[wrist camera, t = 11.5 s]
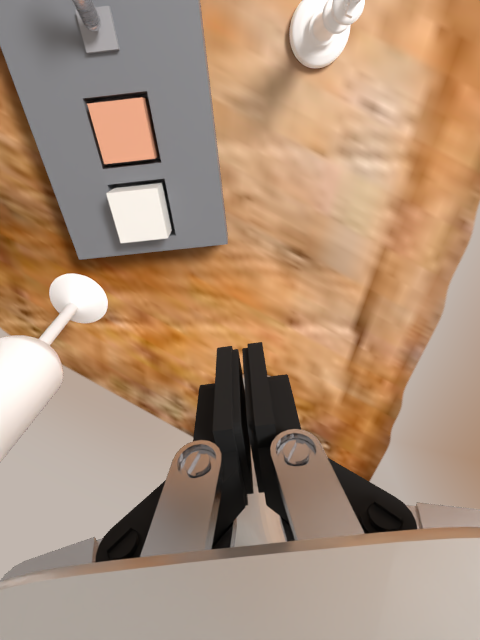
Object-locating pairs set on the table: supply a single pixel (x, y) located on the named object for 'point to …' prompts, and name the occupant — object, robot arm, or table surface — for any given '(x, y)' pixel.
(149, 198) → the button white
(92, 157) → the panel
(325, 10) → the chess piece
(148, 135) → the button terracotta
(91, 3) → the toggle lever
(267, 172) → the table surface
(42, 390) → the champagne flute
